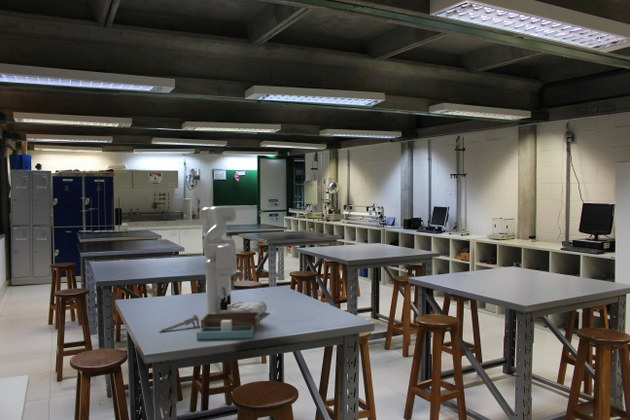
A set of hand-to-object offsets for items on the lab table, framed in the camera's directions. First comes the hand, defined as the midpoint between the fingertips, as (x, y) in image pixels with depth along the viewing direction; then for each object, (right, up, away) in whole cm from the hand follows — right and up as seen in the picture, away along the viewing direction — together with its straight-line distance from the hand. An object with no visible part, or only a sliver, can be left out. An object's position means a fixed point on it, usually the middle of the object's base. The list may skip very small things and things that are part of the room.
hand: (225, 307), depth 236 cm
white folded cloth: (+4, -13, +38) cm, 40 cm away
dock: (0, -13, +13) cm, 18 cm away
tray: (+1, -13, 0) cm, 13 cm away
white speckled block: (0, -13, 0) cm, 13 cm away
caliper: (-26, -14, +14) cm, 32 cm away
